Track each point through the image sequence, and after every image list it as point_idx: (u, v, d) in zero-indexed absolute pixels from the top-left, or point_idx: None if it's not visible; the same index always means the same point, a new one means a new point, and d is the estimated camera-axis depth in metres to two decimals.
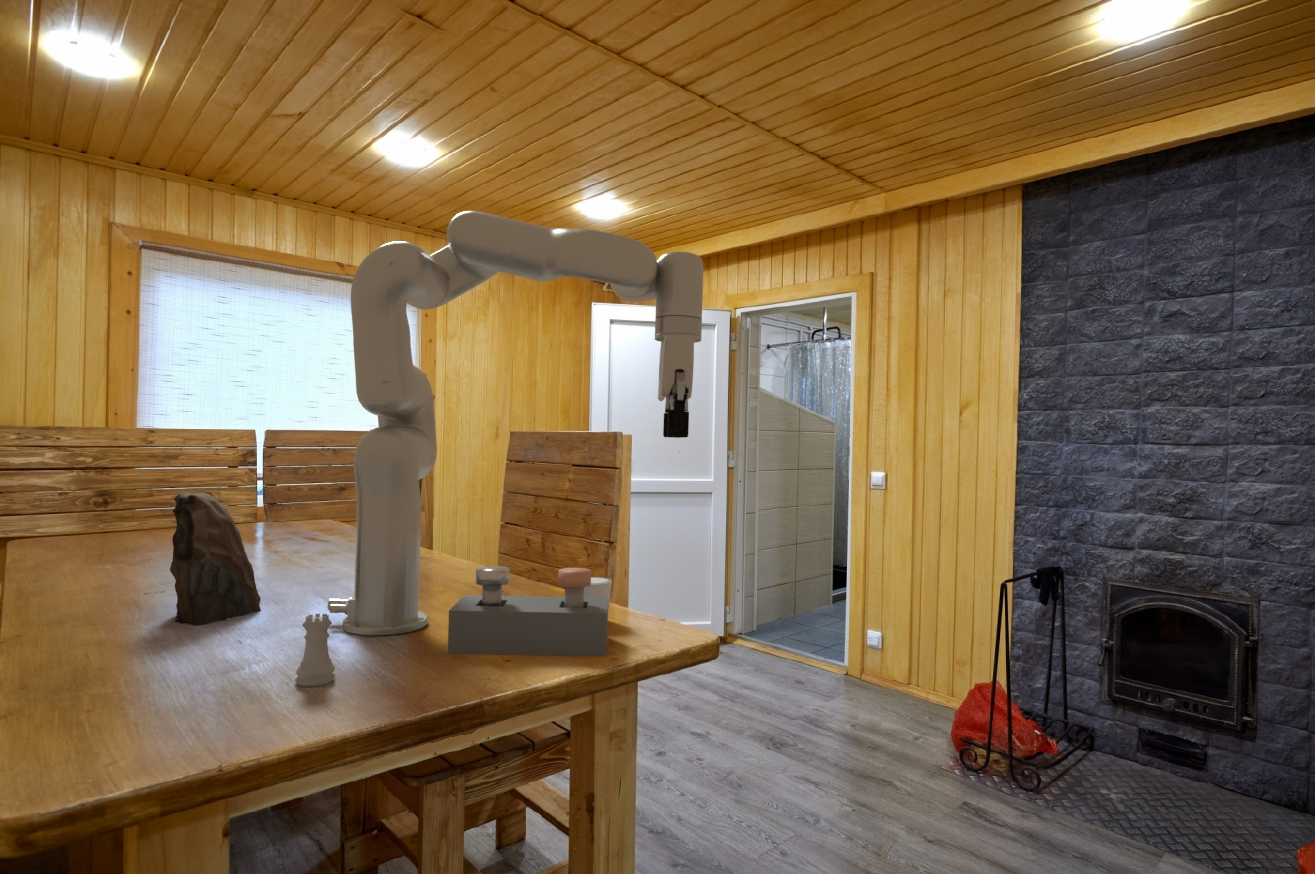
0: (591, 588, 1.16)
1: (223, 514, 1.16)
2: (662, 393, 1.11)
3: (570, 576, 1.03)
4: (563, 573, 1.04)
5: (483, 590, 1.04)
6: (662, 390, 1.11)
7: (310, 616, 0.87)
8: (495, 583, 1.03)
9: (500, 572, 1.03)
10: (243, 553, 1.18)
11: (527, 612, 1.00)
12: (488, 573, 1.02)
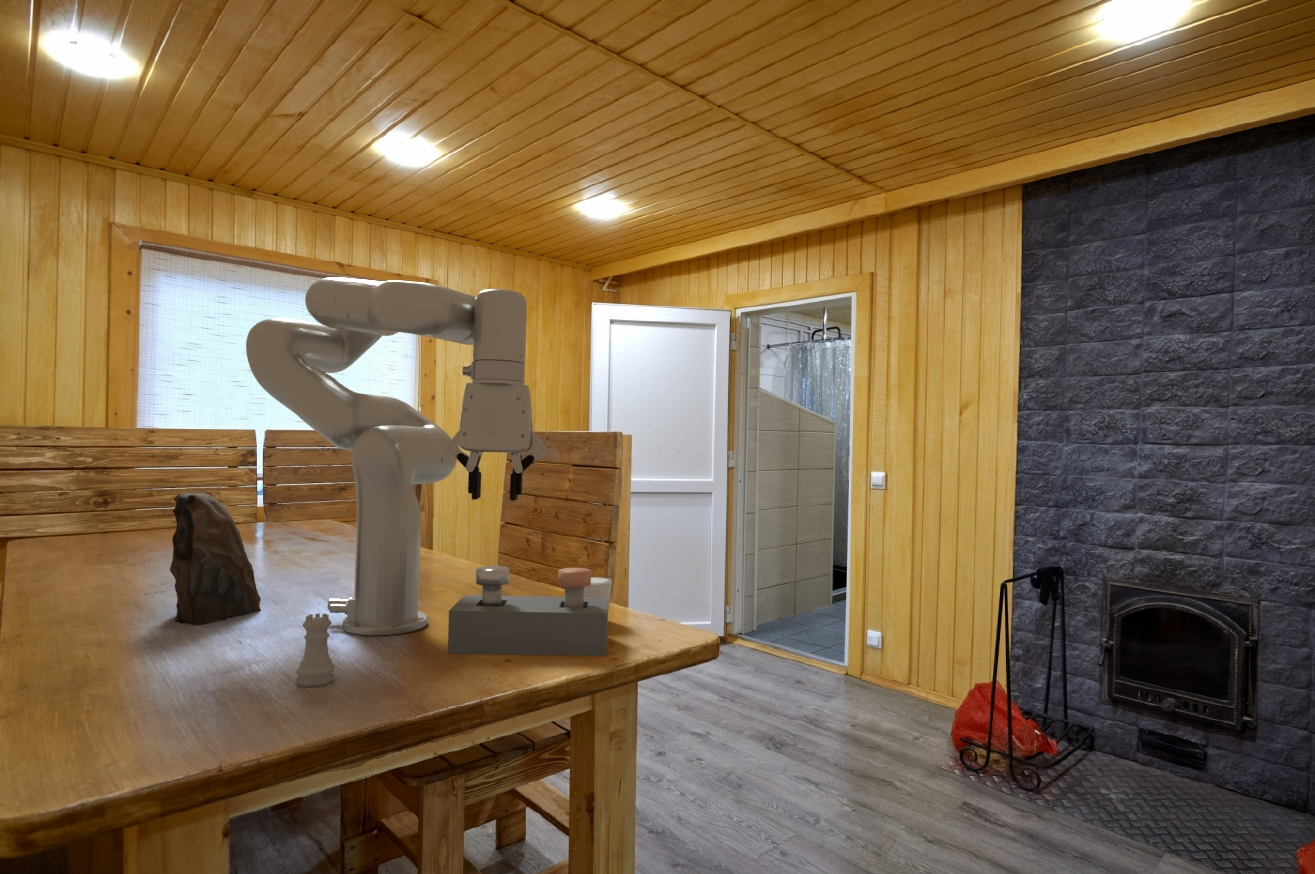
0: (591, 588, 1.16)
1: (223, 514, 1.16)
2: (525, 447, 1.03)
3: (570, 576, 1.03)
4: (563, 573, 1.04)
5: (483, 590, 1.04)
6: (526, 444, 1.03)
7: (310, 616, 0.87)
8: (495, 583, 1.03)
9: (500, 572, 1.03)
10: (243, 553, 1.18)
11: (527, 612, 1.00)
12: (488, 573, 1.02)
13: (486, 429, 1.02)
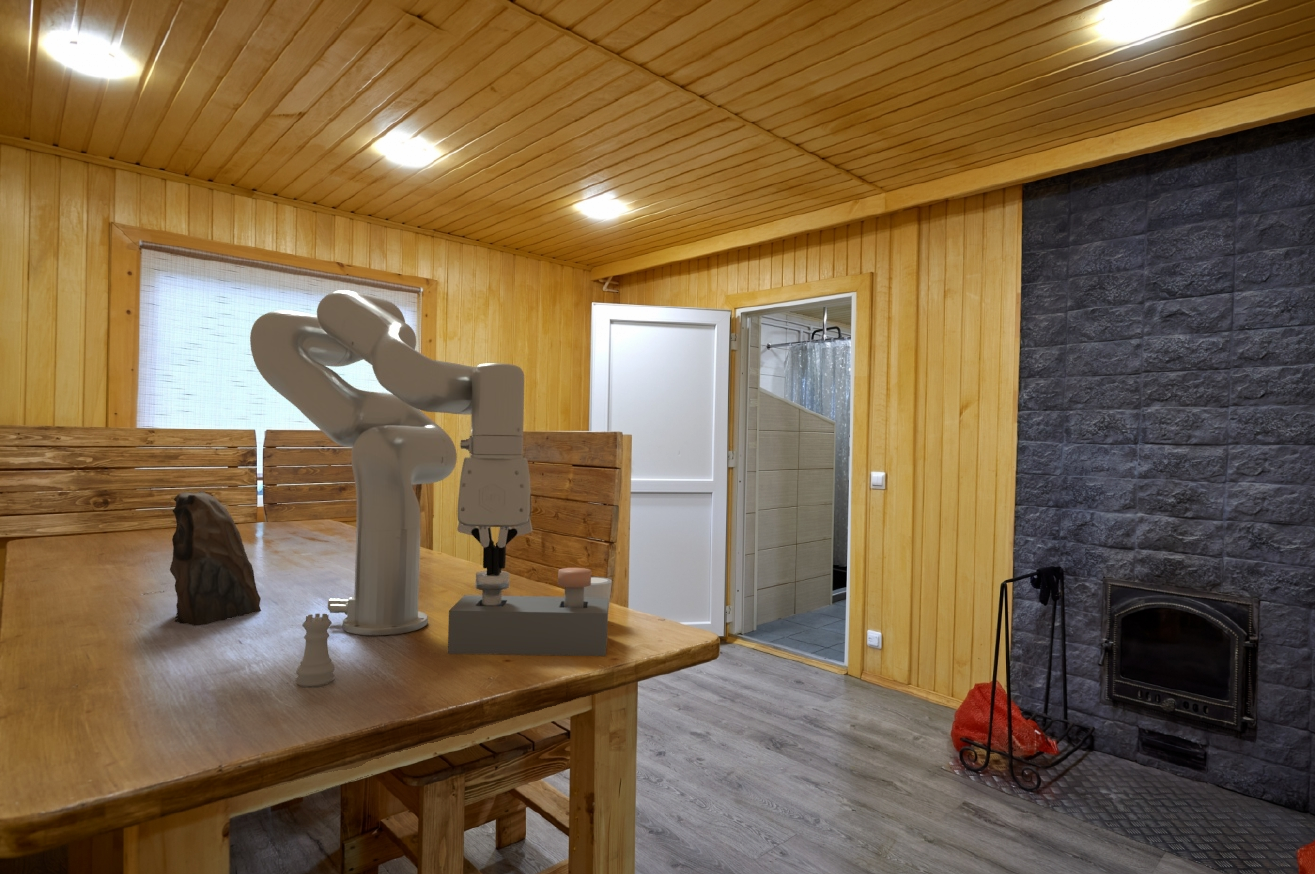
0: (591, 588, 1.16)
1: (223, 514, 1.16)
2: (524, 521, 1.03)
3: (570, 576, 1.03)
4: (563, 573, 1.04)
5: (483, 595, 1.04)
6: (524, 518, 1.03)
7: (310, 616, 0.87)
8: (495, 588, 1.03)
9: (500, 577, 1.03)
10: (243, 553, 1.18)
11: (527, 612, 1.00)
12: (488, 578, 1.02)
13: (485, 504, 1.02)
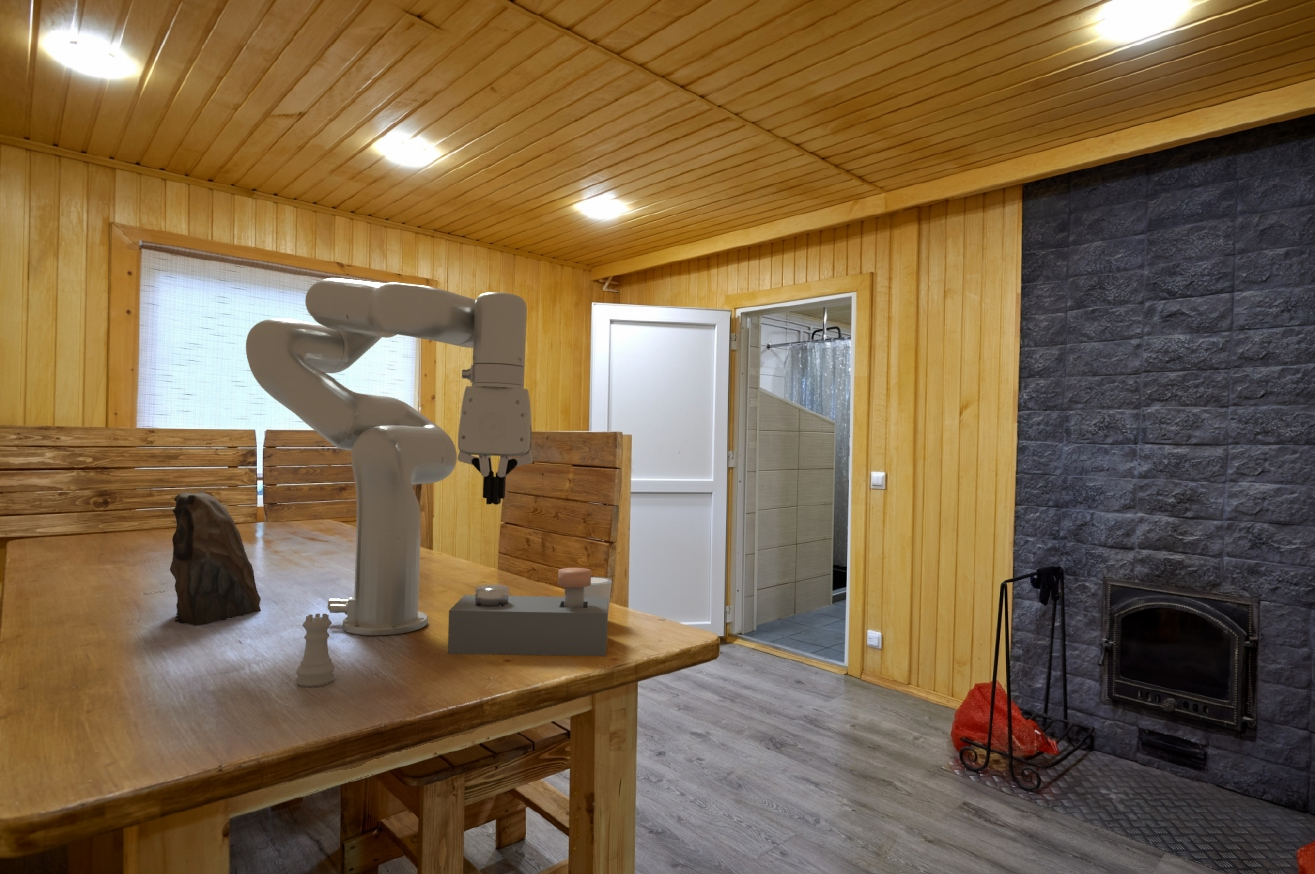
0: (591, 588, 1.16)
1: (223, 514, 1.16)
2: (524, 451, 1.03)
3: (570, 576, 1.03)
4: (563, 573, 1.04)
5: None
6: (525, 447, 1.03)
7: (310, 616, 0.87)
8: (494, 603, 1.03)
9: (499, 591, 1.03)
10: (243, 553, 1.18)
11: (527, 612, 1.00)
12: (487, 593, 1.02)
13: (485, 432, 1.02)
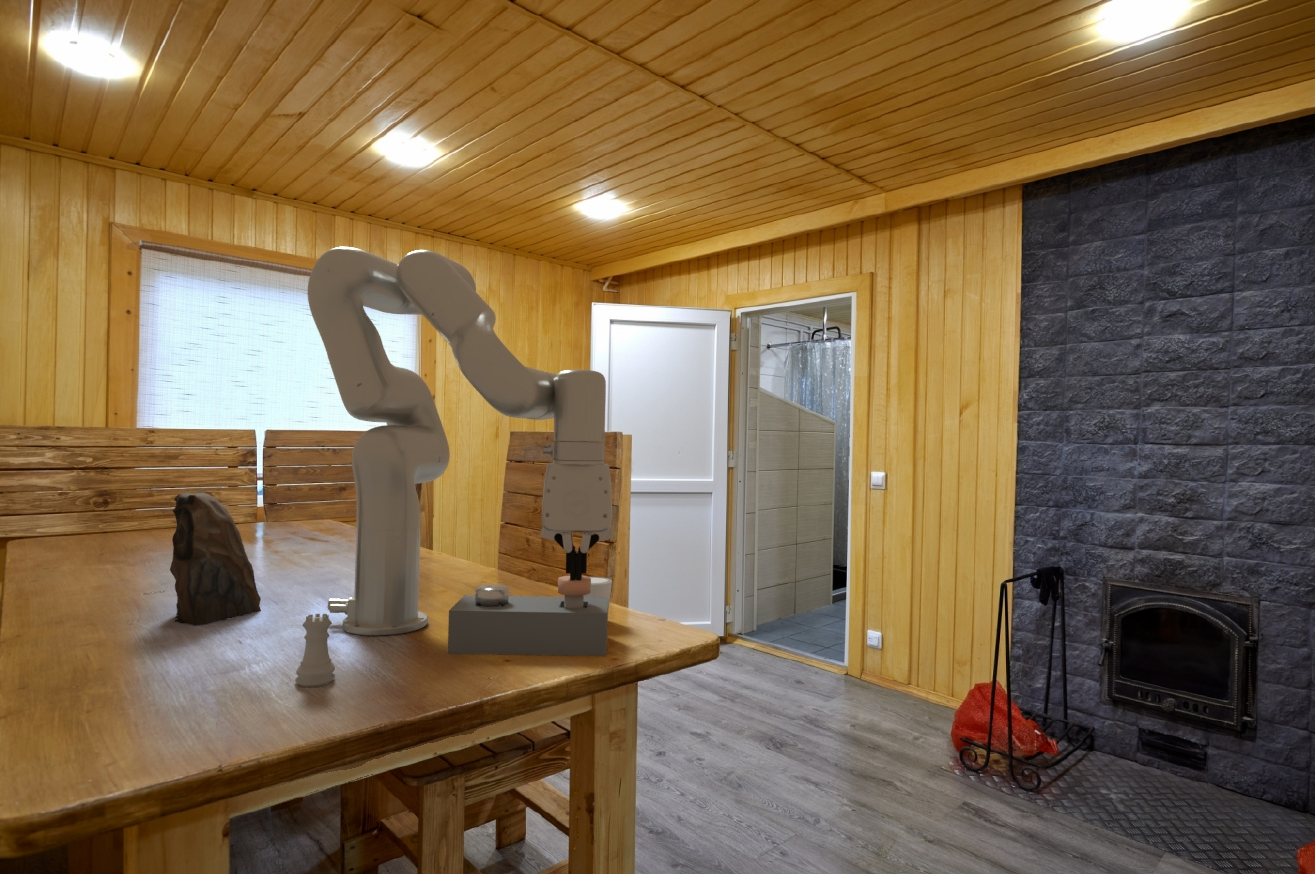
0: (591, 588, 1.16)
1: (223, 514, 1.16)
2: (608, 527, 1.03)
3: (569, 584, 1.03)
4: (563, 581, 1.04)
5: None
6: (608, 524, 1.03)
7: (310, 616, 0.87)
8: (494, 603, 1.03)
9: (499, 591, 1.03)
10: (243, 553, 1.18)
11: (527, 612, 1.00)
12: (487, 593, 1.02)
13: (569, 510, 1.03)
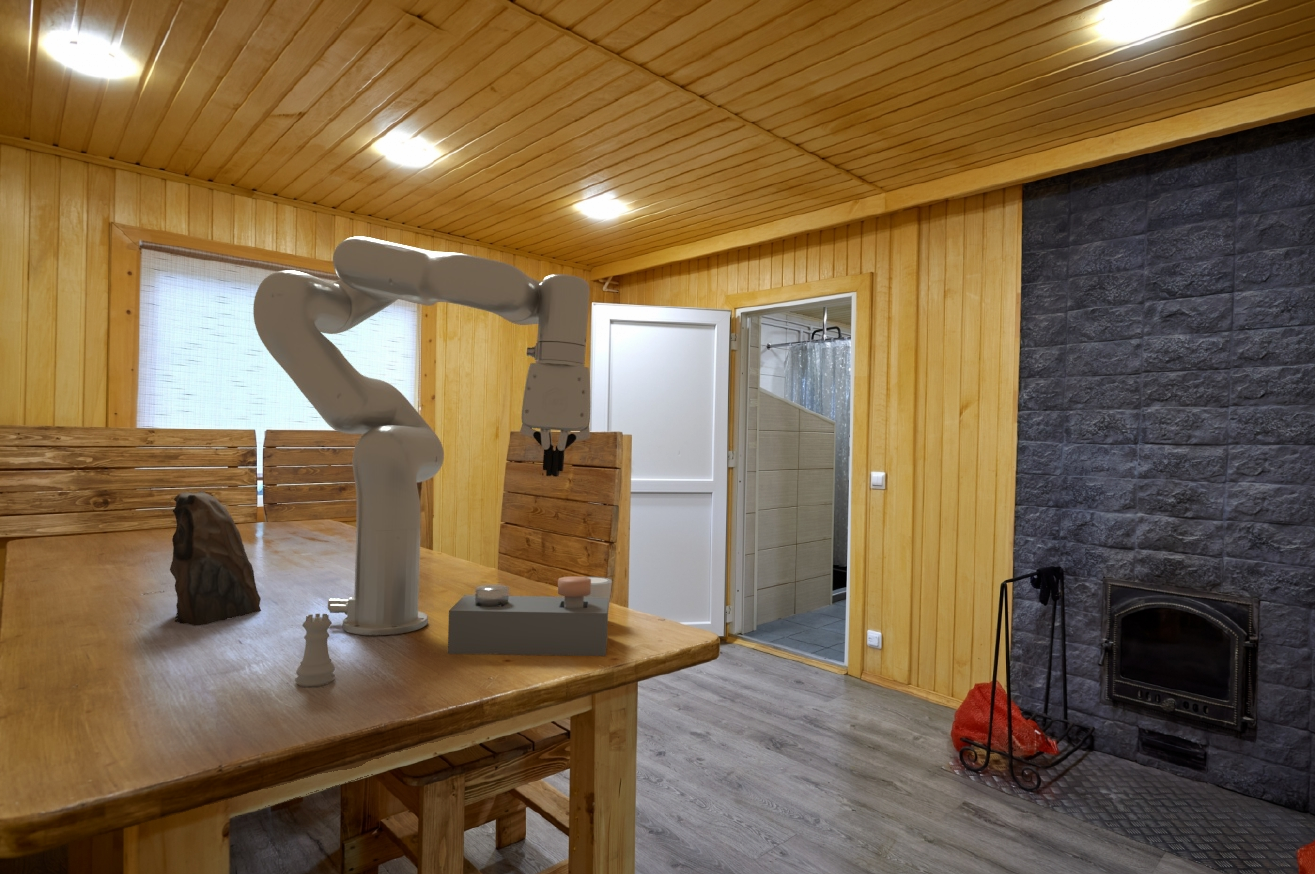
0: (591, 588, 1.16)
1: (223, 514, 1.16)
2: (584, 426, 1.08)
3: (569, 585, 1.03)
4: (563, 582, 1.04)
5: None
6: (584, 423, 1.08)
7: (310, 616, 0.87)
8: (494, 603, 1.03)
9: (499, 591, 1.03)
10: (243, 553, 1.18)
11: (527, 612, 1.00)
12: (487, 593, 1.02)
13: (547, 407, 1.08)
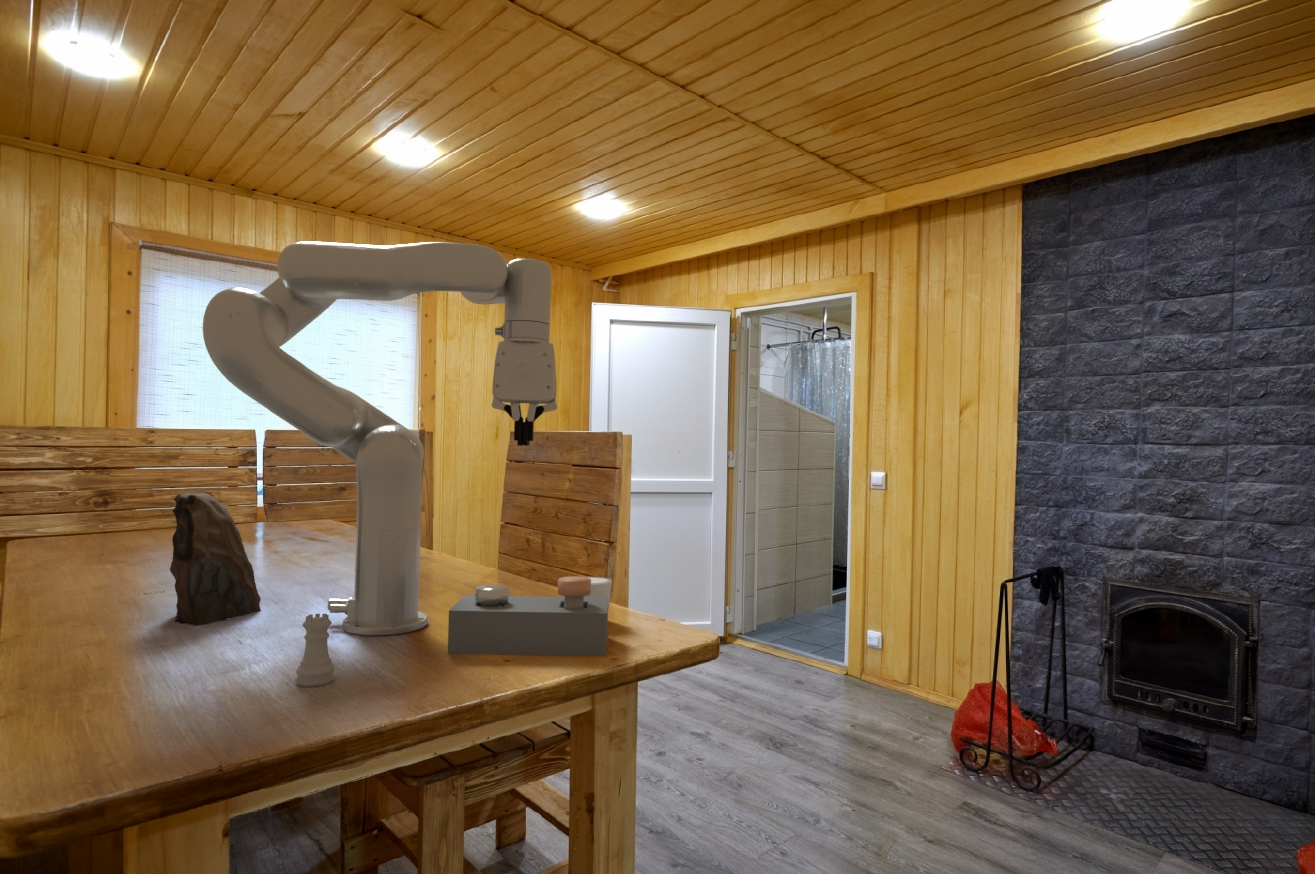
0: (591, 588, 1.16)
1: (223, 514, 1.16)
2: (551, 397, 1.17)
3: (569, 585, 1.03)
4: (563, 582, 1.04)
5: None
6: (551, 395, 1.17)
7: (310, 616, 0.87)
8: (494, 603, 1.03)
9: (499, 591, 1.03)
10: (243, 553, 1.18)
11: (527, 612, 1.00)
12: (487, 593, 1.02)
13: (516, 381, 1.16)
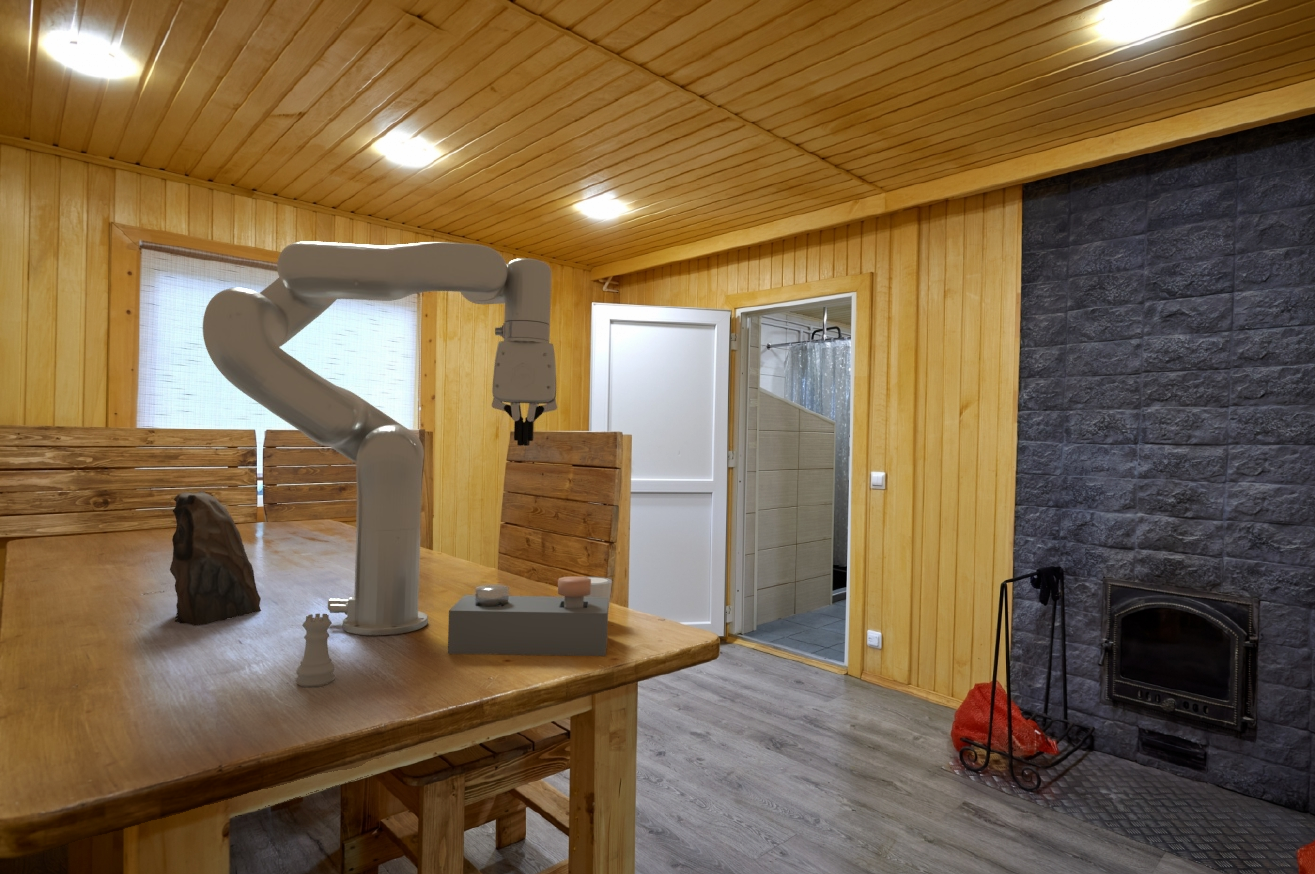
0: (591, 588, 1.16)
1: (223, 514, 1.16)
2: (551, 397, 1.17)
3: (569, 585, 1.03)
4: (563, 582, 1.04)
5: None
6: (551, 395, 1.17)
7: (310, 616, 0.87)
8: (494, 603, 1.03)
9: (499, 591, 1.03)
10: (243, 553, 1.18)
11: (527, 612, 1.00)
12: (487, 593, 1.02)
13: (516, 381, 1.16)
